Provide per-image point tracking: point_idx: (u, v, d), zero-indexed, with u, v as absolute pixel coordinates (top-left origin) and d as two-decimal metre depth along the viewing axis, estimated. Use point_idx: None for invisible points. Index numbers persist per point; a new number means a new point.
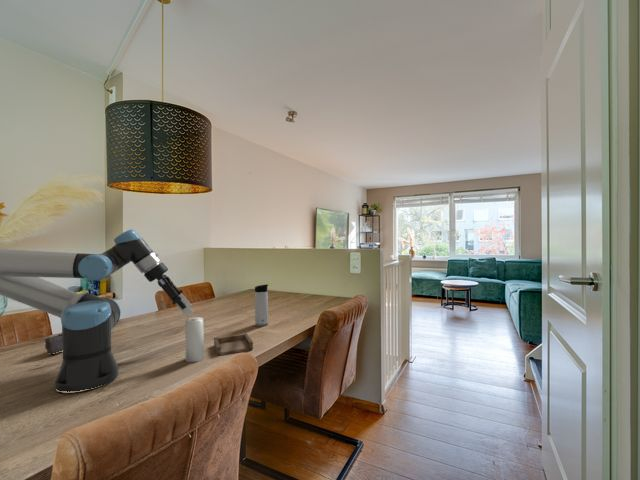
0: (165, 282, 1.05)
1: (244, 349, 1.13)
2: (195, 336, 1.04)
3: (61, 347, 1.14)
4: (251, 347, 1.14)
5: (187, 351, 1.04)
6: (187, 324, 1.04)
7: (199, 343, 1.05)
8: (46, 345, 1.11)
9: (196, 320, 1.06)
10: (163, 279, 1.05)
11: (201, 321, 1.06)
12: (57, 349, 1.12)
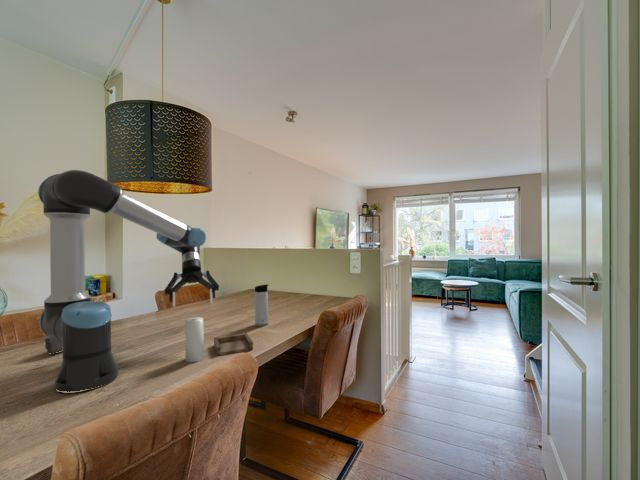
0: None
1: (244, 349, 1.13)
2: (195, 336, 1.04)
3: (61, 347, 1.14)
4: (251, 347, 1.14)
5: (187, 351, 1.04)
6: (187, 324, 1.04)
7: (199, 343, 1.05)
8: (46, 345, 1.11)
9: (196, 320, 1.06)
10: None
11: (201, 321, 1.06)
12: (57, 349, 1.12)
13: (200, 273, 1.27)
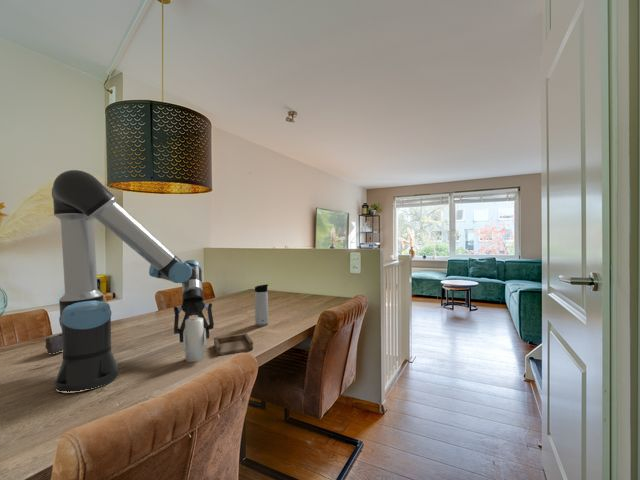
0: None
1: (244, 349, 1.13)
2: (195, 336, 1.04)
3: (61, 347, 1.14)
4: (251, 347, 1.14)
5: (187, 351, 1.04)
6: (187, 324, 1.04)
7: (199, 343, 1.05)
8: (46, 345, 1.11)
9: (196, 320, 1.06)
10: None
11: (201, 321, 1.06)
12: (57, 349, 1.12)
13: (202, 304, 1.15)
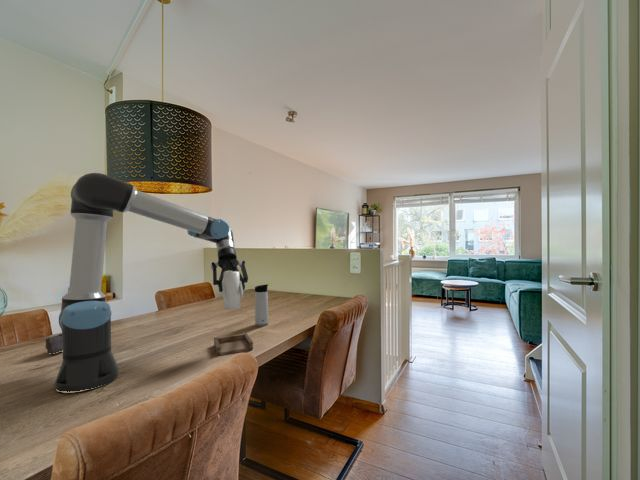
0: None
1: (244, 349, 1.13)
2: (233, 286, 1.15)
3: (61, 347, 1.14)
4: (251, 347, 1.14)
5: (226, 300, 1.15)
6: (226, 275, 1.14)
7: (237, 293, 1.16)
8: (46, 345, 1.11)
9: (233, 272, 1.16)
10: None
11: (238, 273, 1.16)
12: (58, 349, 1.12)
13: (236, 261, 1.25)
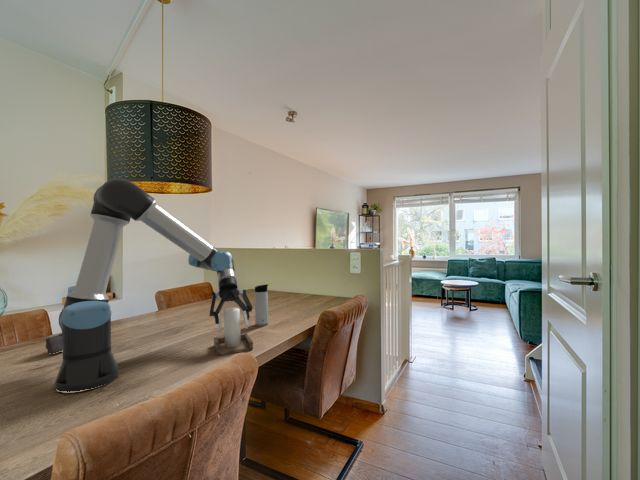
0: None
1: (244, 349, 1.13)
2: (233, 324, 1.15)
3: (61, 347, 1.14)
4: (251, 347, 1.14)
5: (226, 338, 1.15)
6: (226, 313, 1.15)
7: (237, 330, 1.16)
8: (46, 345, 1.11)
9: (234, 310, 1.16)
10: None
11: (238, 311, 1.16)
12: (58, 349, 1.12)
13: (237, 291, 1.26)
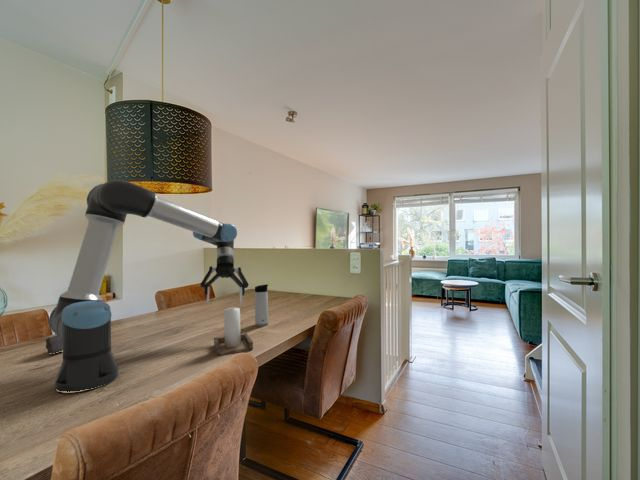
0: None
1: (244, 349, 1.13)
2: (234, 324, 1.15)
3: (62, 347, 1.14)
4: (251, 347, 1.14)
5: (226, 338, 1.15)
6: (226, 313, 1.15)
7: (237, 330, 1.16)
8: (47, 345, 1.12)
9: (234, 309, 1.16)
10: None
11: (238, 310, 1.17)
12: (58, 349, 1.12)
13: (233, 269, 1.36)
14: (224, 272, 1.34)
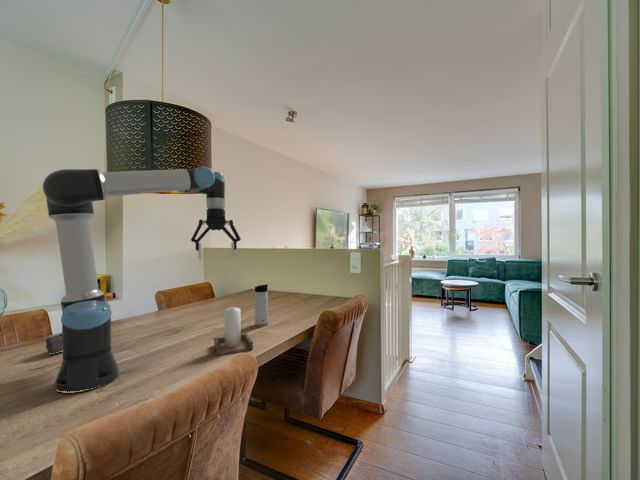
0: None
1: (244, 349, 1.13)
2: (234, 324, 1.15)
3: (62, 347, 1.14)
4: (251, 347, 1.14)
5: (227, 338, 1.15)
6: (227, 313, 1.14)
7: (238, 330, 1.16)
8: (47, 345, 1.12)
9: (235, 310, 1.16)
10: None
11: (239, 311, 1.16)
12: (58, 349, 1.12)
13: (224, 222, 1.30)
14: (215, 226, 1.28)
